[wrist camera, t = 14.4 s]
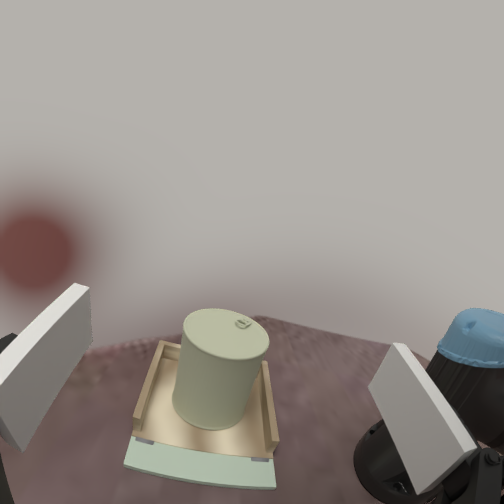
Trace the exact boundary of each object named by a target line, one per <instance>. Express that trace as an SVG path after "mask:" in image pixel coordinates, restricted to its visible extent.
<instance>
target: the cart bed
mask: <svg viewBox="0 0 504 504" xmlns="http://www.w3.org/2000/svg"><path fill="white" fill-rule="evenodd" d="M180 348H181V345H179V344H174V343H170V342H166V341H162V340H160V342H159V344H158V347H157V350H156V352H155V355H154V358H153V360H152V363H151V366H150V368H149V371H148V374H147V377H146V380H145V382H144V385H143V388H142V391H141V394H140V397H139V399H138V402H137V405H136V408H135V411H134V414H133V432H132V436H134V437H136V436H137V437H140V438H144V439H148V440H152V441H154V442H156V443H160V444H165V445H169V446H174V447H179V448H184V449H189V450H195V451H201V452H207V453H214V454H221V455H229V456H238V457H249V458H251V457H260V458H269V459H273V451H274V450H275V448H276V446H277V445H278V443H279V435H278V429H277V422H276V416H275V410H274V403H273V397H272V390H271V384H270V377H269V371H268V365H267V361H262V363H261V366H260V368H259V371H258V374H257V376H256V379H255V381H254V384H253V387H252V389H251V392H250V395H249V398H248V400H247V403H246V406H245V411H244V415H243V417H242V418H241V420H240V421H239V422H238V423H237V424H235V425H234V426H232V427H230V428H227V429H223V430H206V429H201V428H198V427H195V426H193V425H191V424H189V423H188V422H186V421H185V420H183V419H182V418H181V417H180V416H179V415H178V413H177V412H176V411H175V409H174V407H173V404H172V393H173V391H174V387H175V381H176V375H177V368H178V361H179V355H180Z"/></svg>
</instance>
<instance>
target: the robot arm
mask: <svg viewBox="0 0 504 504" xmlns="http://www.w3.org/2000/svg"><path fill="white" fill-rule="evenodd" d="M92 342H93V339H92V326H91V309H90V288H89V287H86V286H82V285H79V284H76V283H74V284H73V285H72V286H71V287H69V289H67V290H66V291H65V292H64V293H63V294H62V295H60V296H59V298H57V299H56V300H55V301H54V302H53V303H52V304H51V305H49V306H48V307H47V308H46V309H45V310H44V311H43V312H42V313H41V314H40V315H39V316H38V317H37V318H36V319H35V320H34V321H32V323H30V324H29V325H28V326H27V327H26V328H25V329H24V330H23V331H22V332H21V333H20V334H19V335H16V334H13V333H11V334H9V335H7V336H5V337H3V338H1V339H0V434H1V436H2V437H3V439H4V441H5V442H6V443H7V444H9V445H11V446H12V447H14V448H15V449H17V450H19V451H20V452H22V453H24V451H25V449H26V447H27V445H28V444H29V442H30V440H31V438H32V436H33V435H34V433H35V431H36V429H37V428H38V426H39V424H40V422H41V421H42V419H43V417H44V416H45V414H46V412H47V411H48V409H49V407H50V406H51V404H52V402H53V401H54V399H55V398H56V396H57V394H58V393H59V391H60V390H61V388H62V386H63V385H64V383H65V382H66V380H67V379H68V377H69V376H70V374H71V373H72V371H73V370H74V368H75V367H76V365H77V364H78V362H79V361H80V359H81V358H82V356H83V355H84V353H85V352H86V350H87V349H88V347H89V346H90V345H91V343H92ZM437 348H438V350H437V352H436V353H435V355H434V357H433V358H432V360H431V362H430V363H429V365H428V366H427V368H426V370H424V369H423V367H422V366H421V365H420V363H419V362H418V360H417V359H416V358H415V356H414V355H413V354H412V353H411V351H410V350H409V349H408V347H407V346H406V345H405V344H401V343H392V345H391V347H390V348H389V350H388V352H387V354H386V356H385V358H384V360H383V362H382V363H381V365H380V367H379V369H378V371H377V372H376V374H375V376H374V378H373V379H372V381H371V383H370V384H369V386H368V388H369V390H370V392H371V394H372V396H373V399H374V401H375V403H376V405H377V407H378V409H379V411H380V413H381V415H382V417H383V419H382V420H381V421H379V422H378V423H376V424H375V425H373V426H372V427H371V428H370V429H369V430H368V431H367V432H366V433H365V435H364V436H363V437H362V438H361V440H360V441H359V443H358V444H357V447H356V449H355V454H354V464H355V469H356V472H357V475H358V477H359V479H360V481H361V483H362V484H363V485H364V487H365V488H366V489H367V490H368V491H369V492H370V493H371V494H372V495H373V496H374V497H376V498H377V499H379V500H381V501H382V502H384V503H387V504H423V503H425V502H427V503H428V502H429V501H431V500H432V499H433V498H435V497H436V499H435V500H434V501H432V502H431V504H504V495H503V496H501V490H503V489H504V456H500V455H499V454H498V453H497V452H499V453H500V454H502V455H504V314H502V313H499V312H495V311H492V310H487V309H481V308H470V309H466V310H464V311H462V312H460V313H459V314H458V315H457V316H456V317H455V319H454V320H453V322H452V324H451V325H450V327H449V329H448V331H447V332H446V334H445V336H444V338H442V339H441V340H440V341H439V343H438V346H437ZM477 441H480V442H482V443H484V444H486V445H487V446H489V447H490V448H488V447H487V448H483V449H482V448H481V447H480V445H479V444H478V442H477ZM496 451H497V452H496ZM0 504H14V501H13V498H12V495H11V492H10V488H9V485H8V482H7V478H6V475H5V471H4V467H3V463H2V459H1V454H0Z"/></svg>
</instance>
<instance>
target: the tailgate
mask: <svg viewBox="0 0 504 504" xmlns="http://www.w3.org/2000/svg"><path fill="white" fill-rule="evenodd" d="M124 467H125V468H128V469H132V470H135V471H139V472H143V473H147V474H151V475H155V476H159V477H164V478H168V479H173V480H179V481H184V482H190V483H196V484H203V485H210V486H218V487H228V488H240V489H258V490H274V489H275V488H276V480H275V472H274V464H273V459H269V458H260V457H251V458H249V457H238V456H229V455H221V454H214V453H207V452H201V451H195V450H189V449H184V448H179V447H174V446H169V445H165V444H160V443H156V442H154V441H152V440H148V439H144V438H140V437H137V436H136V437H134V436H131V440H130V443H129V446H128V450H127V453H126V457H125V460H124Z"/></svg>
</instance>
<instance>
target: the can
mask: <svg viewBox="0 0 504 504" xmlns="http://www.w3.org/2000/svg"><path fill="white" fill-rule="evenodd" d="M268 347H269V337H268V334H267V333H266V331H265V330H264V329H263V327H262V326H261V325H259V324H258V323H257V322H255V321H254V320H252V319H251V318H249V317H247V316H244V315H242V314H239V313H237V312H233V311H229V310H224V309H202V310H198V311H195V312H193V313H191V314H189V315H188V316H187V317H186V319H185V321H184V323H183V334H182V341H181V348H180V355H179V361H178V368H177V375H176V381H175V387H174V391H173V393H172V404H173V407H174V409H175V411H176V412H177V413H178V415H179V416H180V417H181V418H182V419H183V420H185V421H186V422H188V423H189V424H191V425H193V426H195V427H198V428H201V429H206V430H223V429H227V428H230V427H232V426H234V425H235V424H237V423H238V422H239V421H240V420H241V418H242V417H243V415H244V411H245V406H246V403H247V400H248V398H249V395H250V392H251V389H252V387H253V384H254V381H255V379H256V376H257V374H258V371H259V368H260V366H261V363H262V360H263V358H264V355H265V353H266V350H267V349H268Z"/></svg>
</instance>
